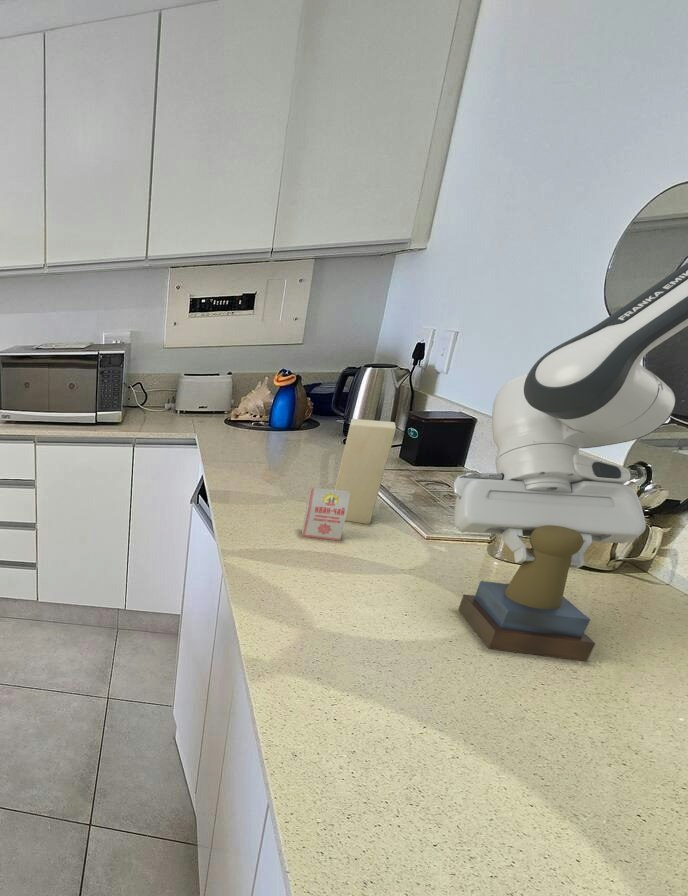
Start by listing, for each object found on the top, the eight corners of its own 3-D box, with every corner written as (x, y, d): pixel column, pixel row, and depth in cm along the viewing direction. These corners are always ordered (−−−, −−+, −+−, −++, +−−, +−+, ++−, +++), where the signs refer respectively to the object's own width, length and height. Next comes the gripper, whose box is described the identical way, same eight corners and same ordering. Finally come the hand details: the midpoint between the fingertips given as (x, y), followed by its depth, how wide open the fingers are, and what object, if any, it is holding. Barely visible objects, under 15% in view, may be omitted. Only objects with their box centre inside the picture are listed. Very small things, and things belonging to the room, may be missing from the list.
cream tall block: (370, 513, 129) (395, 420, 121) (370, 524, 124) (396, 428, 115) (329, 508, 133) (350, 417, 125) (328, 518, 128) (349, 424, 119)
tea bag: (301, 529, 123) (311, 485, 119) (338, 534, 120) (349, 488, 116) (302, 536, 120) (312, 490, 116) (340, 540, 117) (351, 494, 113)
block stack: (544, 620, 88) (559, 586, 86) (587, 661, 79) (604, 624, 76) (457, 610, 92) (469, 577, 89) (488, 648, 82) (502, 612, 80)
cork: (560, 597, 83) (591, 527, 79) (560, 614, 79) (592, 541, 75) (505, 584, 87) (531, 517, 82) (502, 600, 83) (529, 530, 78)
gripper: (463, 461, 85) (470, 548, 80) (645, 469, 78) (663, 565, 74) (442, 481, 91) (448, 563, 86) (610, 490, 84) (626, 579, 80)
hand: (549, 564), depth 80 cm, fingers closed on cork, 4 cm apart
